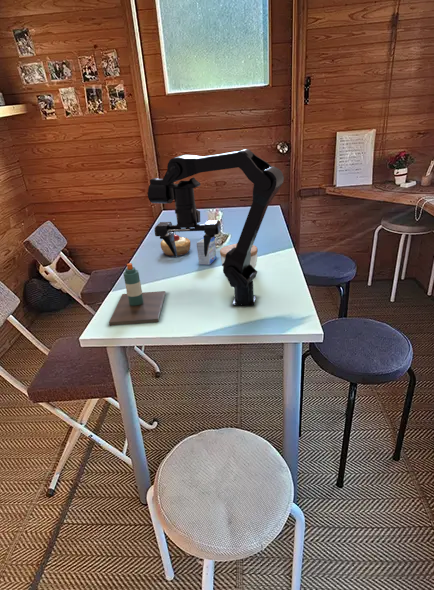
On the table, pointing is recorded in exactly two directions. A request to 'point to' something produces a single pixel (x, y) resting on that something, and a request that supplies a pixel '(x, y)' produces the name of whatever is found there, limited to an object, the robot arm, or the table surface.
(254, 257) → the lidded bowl
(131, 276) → the glue bottle
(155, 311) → the desk board
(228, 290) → the table surface
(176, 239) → the pastry
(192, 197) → the robot arm
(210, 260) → the medicine box
